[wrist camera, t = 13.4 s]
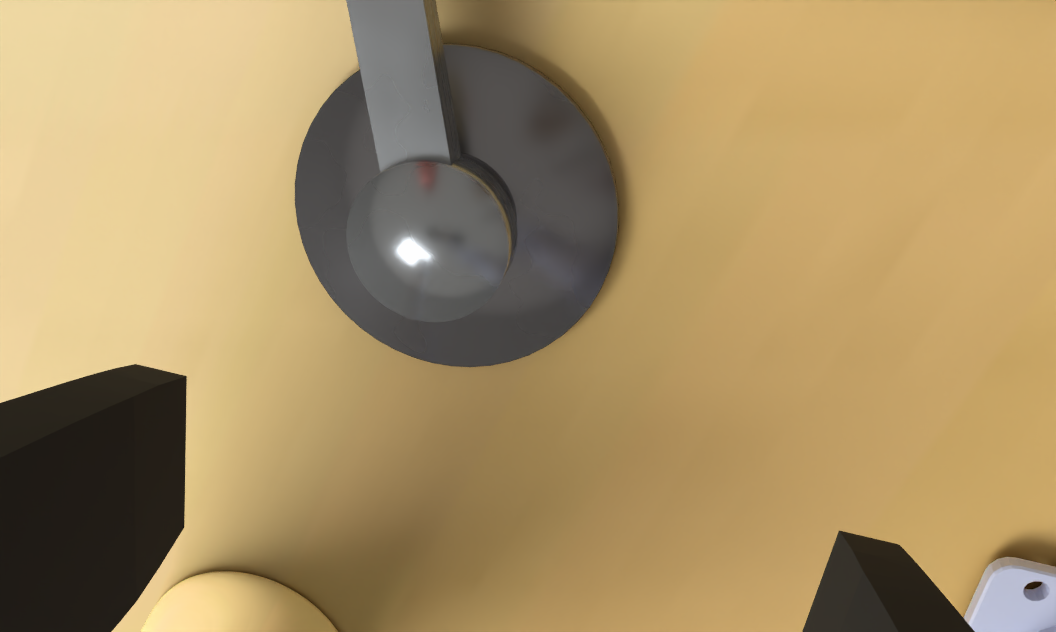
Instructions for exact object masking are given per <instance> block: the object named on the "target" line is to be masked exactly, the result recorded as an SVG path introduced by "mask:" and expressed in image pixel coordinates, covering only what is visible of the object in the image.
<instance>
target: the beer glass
mask: <svg viewBox="0 0 1056 632" xmlns="http://www.w3.org/2000/svg"><path fill="white" fill-rule="evenodd" d="M141 632H338V631H337V630H336V628H335V627H334V626H333V624H332V623H331V622H330V621H329V619H328V618H327V617H326V616H325V615H324V614H323V613H322V612H321V611H320V610H319V609H318V608H317V607H316V606H314V605H313V604H312V603H311V602H309V601H308V600H307V599H305V598H304V597H303V596H301V595H300V594H298V593H297V592H295V591H293V590H291V589H290V588H288V587H286V586H284V585H282V584H280V583H277V582H275V581H272V580H270V579H267V578H264V577H260V576H257V575H253V574H248V573H242V572H233V571H216V572H208V573H203V574H199V575H195V576H192V577H190V578H187V579H185V580H183V581H181V582H180V583H178V584H176V585H175V586H174V587H172V588H171V589H170V590H169V591H168V592H167V593H165V594H164V595H163V596H162V598H161V599H160V600H159V601H158V603H157V604H156V605H155V607H154V608H153V610H152V612H151V613H150V615H149V617H148V618H147V620H146V622H145V624H144V626H143V628H142V630H141Z"/></svg>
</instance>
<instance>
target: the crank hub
mask: <svg viewBox="0 0 1056 632" xmlns="http://www.w3.org/2000/svg"><path fill="white" fill-rule="evenodd" d="M443 48H444V54H445V60H446V66H447V72H448V79H449V85H450V91H451V97H452V103H453V109H454V115H455V121H456V127H457V133H458V139H459V145H460V151H461V156H462V157H464V158H467V159H469V160H471V161H473V162H475V163H476V164H478V165H479V166H481V167H482V168H484V169H485V170H486V171H487V172H488V173H490V174H491V175H492V176H493V177H494V178H495V179H496V181H497V182H498V183H499V184H500V185H501V187H502V188H503V190H504V191H505V193H506V194H507V196H508V198H509V200H510V202H511V204H512V207H513V210H514V213H515V217H516V222H517V231H518V237H517V247H516V252H515V256H514V258H513V261H512V264H511V266H510V268H509V270H508V272H507V273H506V275H505V277H504V278H503V280H502V282H501V283H500V285H499V287H498V288H497V290H496V291H495V293H494V294H493V296H492V297H491V298H490V299H489V300H488V301H487V302H486V303H485V304H484V305H483V306H481V307H480V308H479V309H478V310H476V311H474V312H473V313H471V314H469V315H467V316H465V317H462V318H460V319H456V320H452V321H446V322H423V321H418V320H414V319H410V318H407V317H404V316H402V315H399V314H397V313H395V312H394V311H392V310H390V309H388V308H387V307H385V306H384V305H382V304H381V303H380V302H379V301H378V300H376V299H375V298H374V297H373V296H372V295H371V294H370V293H369V292H368V290H367V289H366V288H365V287H364V285H363V284H362V283H361V281H360V280H359V278H358V276H357V274H356V272H355V270H354V268H353V266H352V263H351V260H350V257H349V253H348V248H347V240H346V230H347V221H348V217H349V213H350V210H351V207H352V205H353V203H354V201H355V199H356V197H357V196H358V194H359V192H360V191H361V190H362V189H363V187H364V186H365V185H366V184H367V183H368V182H369V181H370V180H372V179H373V178H374V177H375V176H377V175H378V174H379V173H380V168H379V163H378V158H377V153H376V148H375V143H374V138H373V132H372V127H371V122H370V117H369V112H368V107H367V102H366V97H365V92H364V87H363V82H362V77H361V72H360V70H359V71H358V72H356V73H355V74H353V75H352V76H350V77H349V78H348V79H347V80H346V81H345V82H344V83H343V84H341V85H340V86H339V87H338V88H337V89H336V90H335V91H334V92H333V93H332V95H331V96H330V97H329V98H328V99H327V101H326V102H325V103H324V104H323V106H322V107H321V108H320V110H319V112H318V113H317V115H316V117H315V118H314V120H313V122H312V123H311V125H310V128H309V130H308V132H307V135H306V137H305V140H304V142H303V145H302V149H301V152H300V156H299V160H298V164H297V172H296V180H295V207H296V215H297V223H298V227H299V231H300V235H301V239H302V243H303V246H304V248H305V251H306V253H307V256H308V259H309V261H310V264H311V265H312V267H313V269H314V271H315V273H316V275H317V277H318V279H319V280H320V282H321V284H322V285H323V286H324V288H325V289H326V291H327V292H328V294H329V295H330V297H331V298H332V299H333V300H334V302H335V303H336V304H337V305H338V306H339V307H340V308H341V310H342V311H343V312H344V313H345V314H346V315H347V316H348V317H349V318H350V319H351V320H353V321H354V322H355V323H356V324H357V325H358V326H359V327H360V328H362V329H363V330H364V331H366V332H367V333H369V334H370V335H371V336H373V337H374V338H375V339H377V340H379V341H380V342H382V343H384V344H386V345H388V346H389V347H391V348H393V349H395V350H397V351H399V352H402V353H404V354H407V355H409V356H411V357H414V358H417V359H421V360H424V361H428V362H431V363H436V364H442V365H448V366H461V367H478V366H490V365H496V364H501V363H505V362H510V361H513V360H516V359H519V358H522V357H525V356H528V355H530V354H532V353H534V352H536V351H538V350H540V349H542V348H544V347H546V346H547V345H549V344H550V343H552V342H553V341H555V340H556V339H558V338H559V337H561V336H562V335H563V334H564V333H565V332H567V331H568V330H569V329H570V328H571V327H572V326H573V325H574V324H575V323H576V322H577V321H578V320H579V319H580V318H581V317H582V315H583V314H584V313H585V312H586V311H587V309H588V308H589V307H590V306H591V304H592V302H593V301H594V299H595V297H596V296H597V294H598V293H599V291H600V289H601V287H602V285H603V283H604V280H605V278H606V276H607V274H608V271H609V268H610V264H611V261H612V257H613V254H614V250H615V247H616V240H617V233H618V213H619V204H618V197H617V189H616V182H615V179H614V175H613V171H612V168H611V164H610V161H609V158H608V156H607V153H606V151H605V149H604V146H603V144H602V141H601V140H600V138H599V136H598V134H597V133H596V131H595V129H594V128H593V126H592V124H591V122H590V121H589V120H588V118H587V117H586V116H585V114H584V113H583V112H582V110H581V109H580V108H579V106H578V105H577V104H576V103H575V102H574V101H573V100H572V99H571V98H570V97H569V96H568V95H567V94H566V93H565V92H564V91H563V90H562V89H561V88H560V87H559V86H558V85H557V84H555V83H554V82H553V81H551V80H550V79H549V78H548V77H546V76H545V75H544V74H542V73H541V72H539V71H538V70H536V69H534V68H532V67H531V66H529V65H527V64H526V63H524V62H522V61H520V60H518V59H515V58H513V57H510V56H508V55H506V54H503V53H501V52H497V51H494V50H490V49H486V48H482V47H478V46H471V45H463V44H443Z"/></svg>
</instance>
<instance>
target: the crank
mask: <svg viewBox="0 0 1056 632" xmlns="http://www.w3.org/2000/svg"><path fill="white" fill-rule="evenodd" d="M346 1H347V6H348V11H349V16H350V21H351V26H352V31H353V36H354V41H355V46H356V51H357V57H358V62H359V67H360V72H361V77H362V82H363V87H364V92H365V97H366V102H367V107H368V112H369V117H370V122H371V127H372V132H373V138H374V143H375V148H376V153H377V158H378V163H379V168H380V173H379V174H378V175H377V176H375V177H374V178H373V179H372V180H370V181H369V182H368V183H367V184H366V185H365V186H364V187H363V189H362V190H361V191H360V192H359V194H358V196H357V197H356V199H355V201H354V203H353V205H352V207H351V210H350V213H349V217H348V221H347V230H346V240H347V248H348V253H349V257H350V260H351V263H352V266H353V268H354V270H355V272H356V274H357V276H358V278H359V280H360V281H361V283H362V284H363V285H364V287H365V288H366V289H367V290H368V292H369V293H370V294H371V295H372V296H373V297H374V298H375V299H376V300H378V301H379V302H380V303H381V304H382V305H384V306H385V307H387V308H388V309H390V310H392V311H394V312H395V313H397V314H399V315H402V316H404V317H407V318H410V319H414V320H418V321H423V322H446V321H452V320H456V319H460V318H462V317H465V316H467V315H469V314H471V313H473V312H474V311H476V310H478V309H479V308H480V307H481V306H483V305H484V304H485V303H486V302H487V301H488V300H489V299H490V298H491V297H492V296H493V294H494V293H495V291H496V290H497V288H498V287H499V285H500V283H501V282H502V280H503V278H504V277H505V275H506V273H507V272H508V270H509V268H510V266H511V264H512V261H513V258H514V256H515V252H516V247H517V237H518V231H517V222H516V217H515V213H514V210H513V207H512V204H511V202H510V200H509V198H508V196H507V194H506V193H505V191H504V190H503V188H502V187H501V185H500V184H499V183H498V182H497V181H496V179H495V178H494V177H493V176H492V175H491V174H490V173H488V172H487V171H486V170H485V169H484V168H482V167H481V166H479V165H478V164H476V163H475V162H473V161H471V160H469V159H467V158H464V157H462V156H461V151H460V145H459V139H458V133H457V127H456V121H455V115H454V109H453V103H452V97H451V91H450V85H449V79H448V72H447V66H446V60H445V54H444V48H443V42H442V36H441V30H440V24H439V18H438V12H437V6H436V0H346Z"/></svg>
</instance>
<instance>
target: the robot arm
mask: <svg viewBox="0 0 1056 632" xmlns="http://www.w3.org/2000/svg"><path fill="white" fill-rule="evenodd" d="M185 442H186V376H183V375H179V374H175V373H170V372H166V371H162V370H158V369H154V368H149V367H145V366H141V365H137V364H134V365H130V366H125V367H120V368H116V369H112V370H108V371H104V372H100V373H97V374H93V375H89V376H86V377H83V378H79V379H76V380H73V381H69V382H66V383H63V384H60V385H56V386H53V387H50V388H47V389H44V390H40V391H37V392H34V393H31V394H28V395H25V396H21V397H18V398H15V399H12V400H9V401H6V402H2V403H0V632H111V631H112V630H113V629H114V628H115V627H116V625H117V624H118V623H119V622H120V621H121V620H122V618H123V617H124V616H125V615H126V613H127V612H128V611H129V610H130V609H131V607H132V606H133V605H134V604H135V603H136V601H137V600H138V598H139V597H140V595H141V594H142V592H143V591H144V589H145V588H146V586H147V585H148V583H149V582H150V580H151V579H152V577H153V576H154V574H155V573H156V571H157V570H158V568H159V567H160V565H161V564H162V562H163V560H164V559H165V557H166V556H167V554H168V552H169V551H170V549H171V548H172V546H173V544H174V543H175V541H176V539H177V538H178V536H179V535H180V533H181V531H182V530H183V528H184V508H185ZM1033 581H1041V582H1043V583H1042V584H1041V585H1040V586H1039V587H1037V588H1035V589H1024V587H1025V586H1026V585H1027V584H1028V583H1031V582H1033ZM803 632H1056V567H1055V566H1050V565H1046V564H1042V563H1038V562H1033V561H1029V560H1025V559H1021V558H1016V557H1004V558H1000V559H997V560H995V561H993V562H992V563H990V564H989V565H988V567H987V568H986V569H985V571H984V573H983V576H982V578H981V580H980V582H979V585H978V587H977V589H976V591H975V593H974V596H973V598H972V600H971V602H970V604H969V607H968V609H967V611H966V613H965V616H964V618H963V617H962V616H961V615H960V614H959V612H958V611H957V610H956V609H955V608H954V606H953V605H952V604H951V603H950V602H949V601H948V599H947V598H946V597H945V596H944V595H943V593H942V592H941V591H940V590H939V589H938V588H937V586H936V585H935V584H934V583H933V582H932V581H931V579H930V578H929V577H928V576H927V575H926V574H925V572H924V571H923V570H922V569H921V568H920V567H919V566H918V564H917V563H916V562H915V561H914V560H913V559H912V558H911V557H910V556H909V555H908V554H907V552H906V551H905V550H904V549H903V548H902V547H901V546H900V545H898V544H894V543H890V542H885V541H881V540H877V539H873V538H868V537H864V536H860V535H856V534H851V533H847V532H843V531H839V533H838V535H837V538H836V541H835V544H834V546H833V549H832V552H831V555H830V557H829V560H828V563H827V566H826V568H825V571H824V574H823V577H822V579H821V582H820V585H819V588H818V590H817V593H816V596H815V599H814V601H813V604H812V607H811V610H810V612H809V615H808V618H807V621H806V623H805V626H804V629H803Z"/></svg>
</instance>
